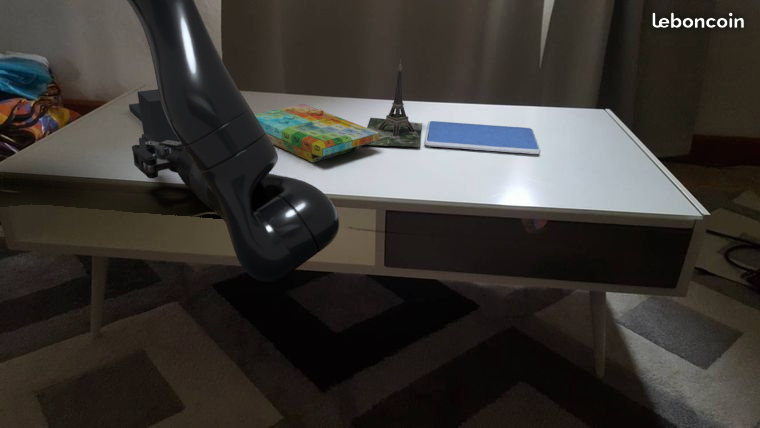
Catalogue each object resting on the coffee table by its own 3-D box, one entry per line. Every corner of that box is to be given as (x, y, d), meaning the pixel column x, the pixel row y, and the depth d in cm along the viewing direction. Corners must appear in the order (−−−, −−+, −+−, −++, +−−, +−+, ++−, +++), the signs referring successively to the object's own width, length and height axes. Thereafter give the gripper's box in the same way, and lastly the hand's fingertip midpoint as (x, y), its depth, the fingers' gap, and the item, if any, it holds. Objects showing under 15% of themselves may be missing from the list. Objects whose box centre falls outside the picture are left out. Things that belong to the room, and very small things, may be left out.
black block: (159, 168, 84) (149, 101, 79) (146, 155, 88) (137, 91, 84) (185, 163, 86) (178, 97, 82) (172, 150, 90) (164, 88, 86)
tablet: (423, 148, 96) (424, 140, 95) (427, 125, 107) (428, 118, 107) (540, 158, 94) (541, 150, 94) (531, 134, 105) (533, 127, 105)
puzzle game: (301, 99, 103) (379, 127, 90) (302, 124, 105) (378, 155, 92) (245, 110, 95) (322, 143, 83) (247, 137, 97) (322, 173, 85)
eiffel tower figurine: (369, 120, 109) (371, 48, 103) (422, 123, 108) (427, 51, 102) (361, 146, 96) (363, 66, 90) (421, 150, 95) (428, 70, 89)
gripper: (274, 135, 70) (223, 102, 82) (156, 156, 62) (118, 116, 74) (276, 191, 73) (227, 152, 85) (164, 217, 66) (127, 170, 77)
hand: (176, 135), depth 79 cm, fingers open, 8 cm apart
